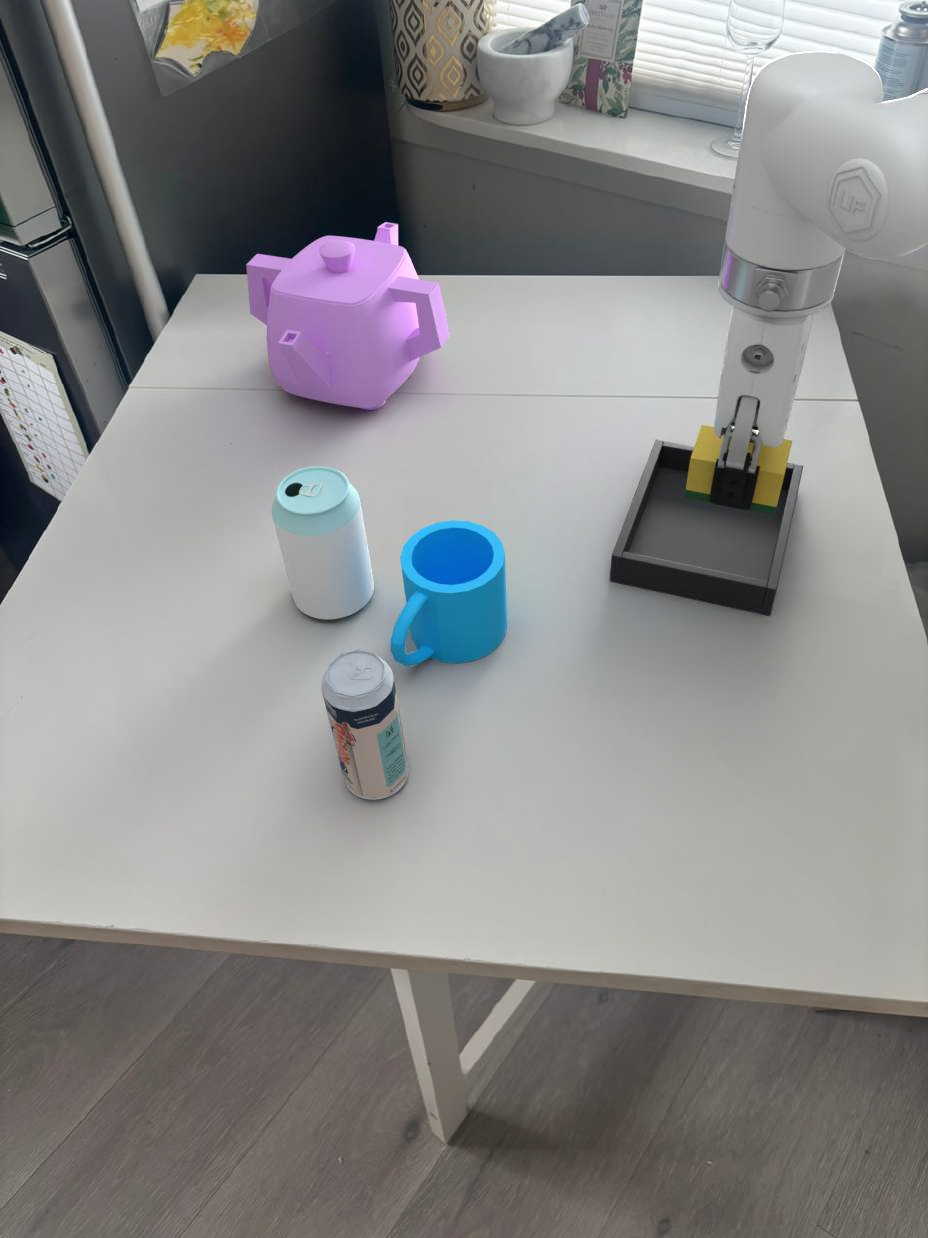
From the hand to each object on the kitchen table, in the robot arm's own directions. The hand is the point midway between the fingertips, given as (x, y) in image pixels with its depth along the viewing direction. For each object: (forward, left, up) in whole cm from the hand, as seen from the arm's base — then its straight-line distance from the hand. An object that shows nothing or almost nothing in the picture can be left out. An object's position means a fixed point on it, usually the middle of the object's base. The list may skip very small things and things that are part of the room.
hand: (736, 481), depth 78 cm
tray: (+2, -4, -10) cm, 11 cm away
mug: (+20, +15, -10) cm, 27 cm away
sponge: (0, 0, -1) cm, 1 cm away
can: (+31, +13, -10) cm, 35 cm away
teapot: (+43, -18, -10) cm, 48 cm away
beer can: (+20, +29, -10) cm, 36 cm away
